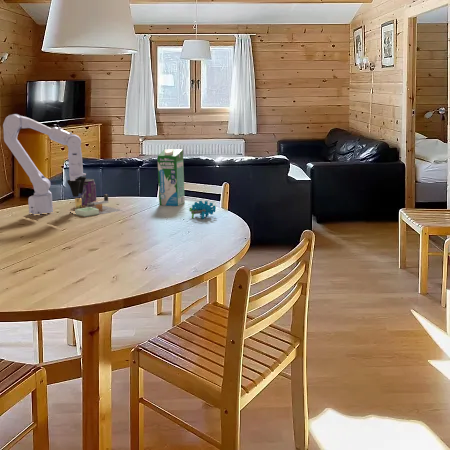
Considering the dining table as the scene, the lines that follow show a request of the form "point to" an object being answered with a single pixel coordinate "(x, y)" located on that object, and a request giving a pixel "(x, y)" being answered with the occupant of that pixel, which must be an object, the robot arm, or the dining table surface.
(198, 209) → the gear
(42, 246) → the dining table surface
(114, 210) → the base plate
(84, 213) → the tray
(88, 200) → the beverage can
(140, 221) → the dining table surface
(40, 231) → the dining table surface
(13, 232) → the dining table surface
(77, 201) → the brass pin
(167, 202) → the milk carton
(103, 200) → the crank
